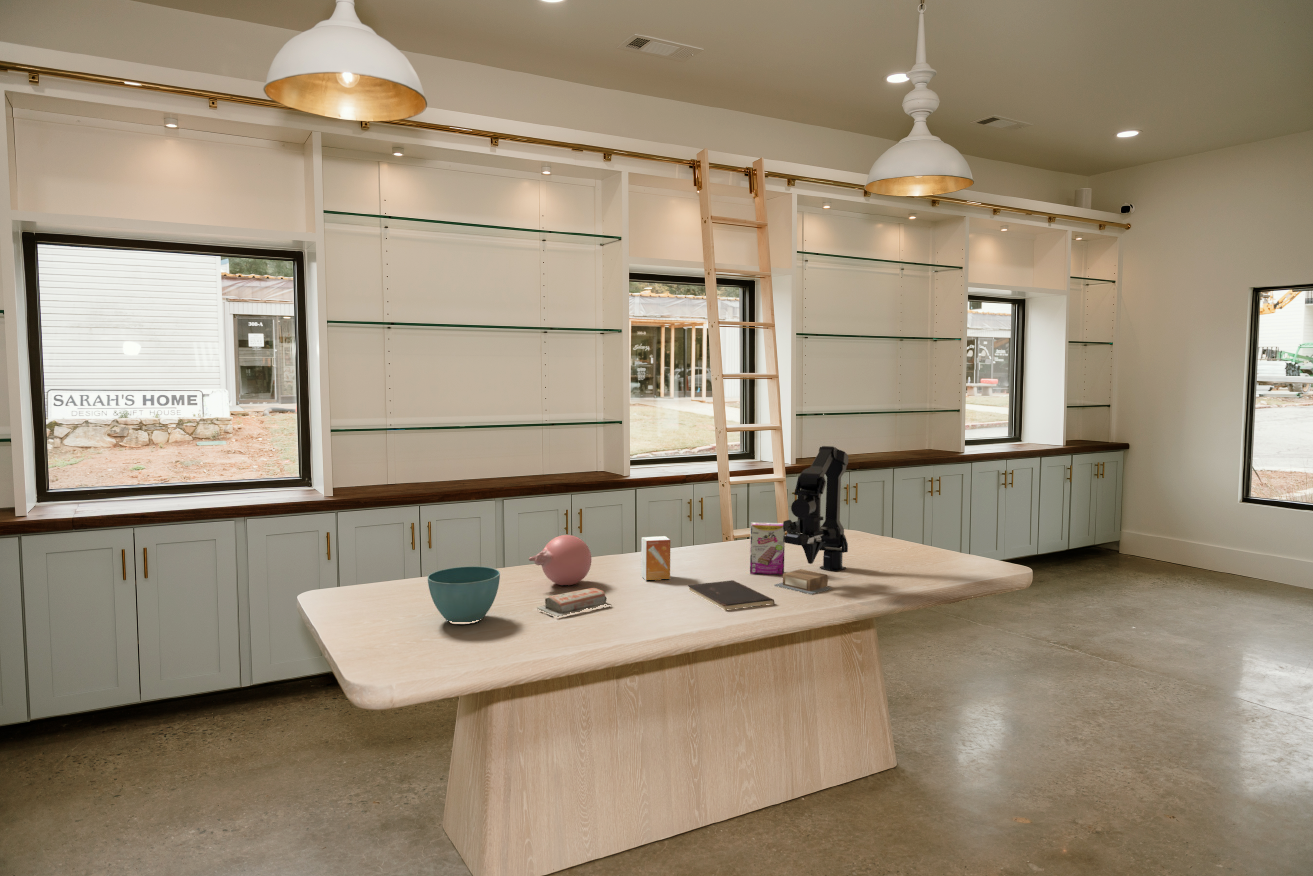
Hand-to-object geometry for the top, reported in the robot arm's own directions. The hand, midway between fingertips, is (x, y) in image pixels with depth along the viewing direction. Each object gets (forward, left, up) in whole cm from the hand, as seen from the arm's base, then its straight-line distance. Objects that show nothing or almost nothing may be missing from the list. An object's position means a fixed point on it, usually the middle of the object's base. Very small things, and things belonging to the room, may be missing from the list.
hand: (810, 563), depth 238 cm
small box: (+30, -38, -7) cm, 49 cm away
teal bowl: (+97, -38, -7) cm, 104 cm away
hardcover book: (+29, -7, -8) cm, 31 cm away
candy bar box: (-2, -19, -7) cm, 20 cm away
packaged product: (+69, -28, -7) cm, 75 cm away
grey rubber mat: (+4, 0, -7) cm, 8 cm away
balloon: (+58, -51, -7) cm, 77 cm away
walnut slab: (-2, 0, -5) cm, 5 cm away
